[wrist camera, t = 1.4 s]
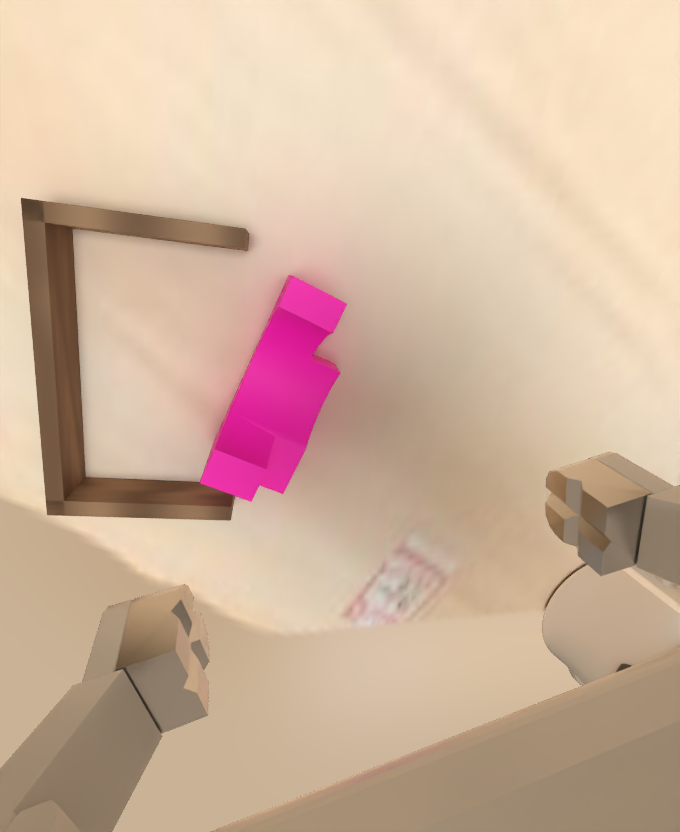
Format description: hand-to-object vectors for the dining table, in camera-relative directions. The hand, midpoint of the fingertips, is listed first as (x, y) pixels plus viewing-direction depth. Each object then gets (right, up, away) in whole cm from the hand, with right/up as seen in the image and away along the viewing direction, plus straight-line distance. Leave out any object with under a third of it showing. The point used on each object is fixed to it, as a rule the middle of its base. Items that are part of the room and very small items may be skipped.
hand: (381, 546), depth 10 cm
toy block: (-5, +6, +27) cm, 28 cm away
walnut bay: (-15, +6, +25) cm, 30 cm away
